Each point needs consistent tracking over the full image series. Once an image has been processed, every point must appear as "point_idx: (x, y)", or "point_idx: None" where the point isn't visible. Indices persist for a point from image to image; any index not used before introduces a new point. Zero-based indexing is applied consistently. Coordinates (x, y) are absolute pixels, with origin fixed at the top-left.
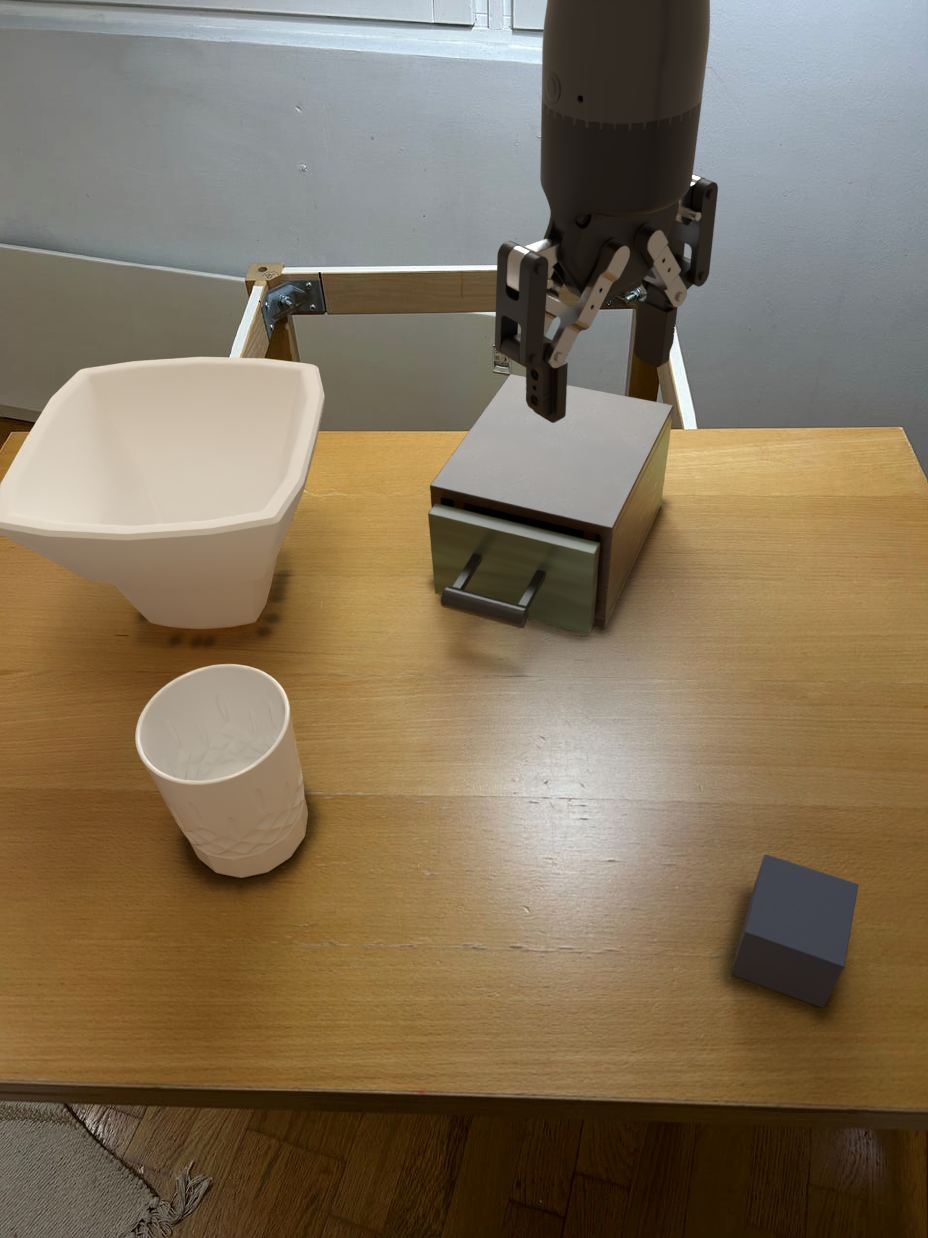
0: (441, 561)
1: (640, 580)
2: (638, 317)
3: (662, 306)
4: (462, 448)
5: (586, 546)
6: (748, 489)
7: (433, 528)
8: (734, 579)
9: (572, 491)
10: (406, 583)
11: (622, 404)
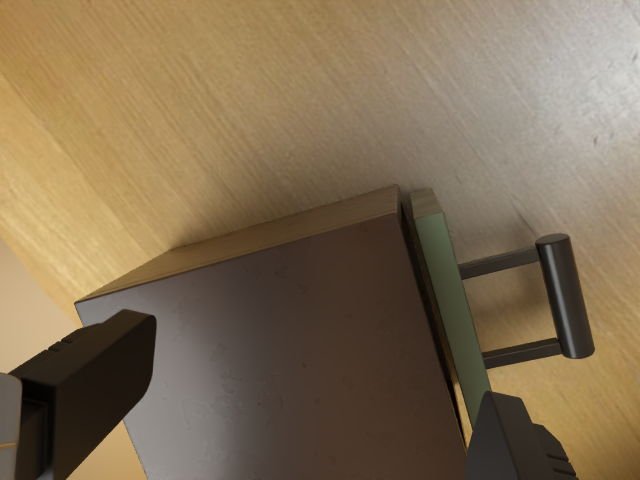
0: None
1: (295, 197)
2: (89, 449)
3: (41, 415)
4: None
5: (433, 231)
6: (72, 179)
7: None
8: (221, 104)
9: (355, 314)
10: None
11: None
